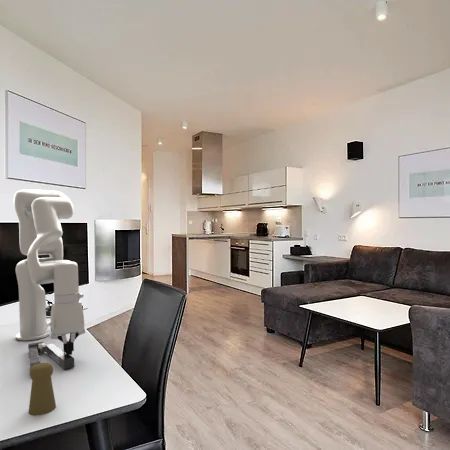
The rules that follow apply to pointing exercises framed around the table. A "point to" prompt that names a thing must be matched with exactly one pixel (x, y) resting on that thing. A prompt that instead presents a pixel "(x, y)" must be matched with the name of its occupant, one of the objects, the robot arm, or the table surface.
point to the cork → (41, 389)
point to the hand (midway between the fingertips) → (68, 353)
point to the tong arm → (57, 355)
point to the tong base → (34, 353)
